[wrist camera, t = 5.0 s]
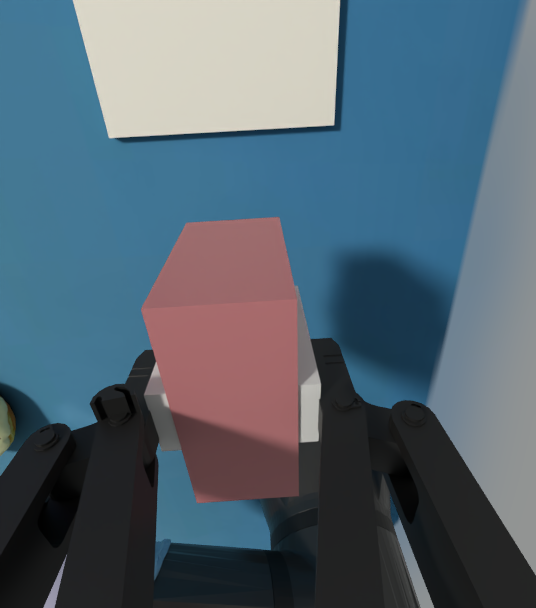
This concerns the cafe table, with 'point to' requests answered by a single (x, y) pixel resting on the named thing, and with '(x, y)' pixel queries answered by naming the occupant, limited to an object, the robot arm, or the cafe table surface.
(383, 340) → the cafe table surface
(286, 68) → the serving mat
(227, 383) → the card deck box
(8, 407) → the decorated donut
